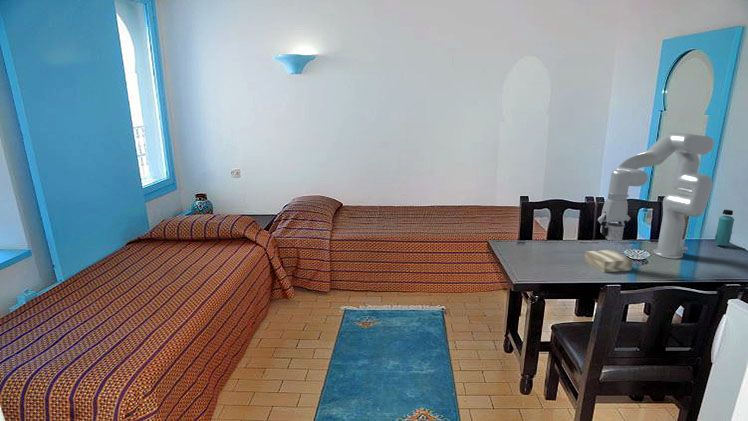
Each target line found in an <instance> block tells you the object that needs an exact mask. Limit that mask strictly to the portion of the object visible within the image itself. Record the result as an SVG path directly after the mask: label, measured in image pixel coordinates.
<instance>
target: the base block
mask: <svg viewBox="0 0 748 421" xmlns="http://www.w3.org/2000/svg"><path fill="white" fill-rule="evenodd" d="M584 255H585V256H584V262H585V263H587V264H589V265H590V266H591V267H594V268H596V269H597V270H599V271H601V272H603V273H612V272H613V273H615V272H626V271H632V267H633V259H631V258H629V257H628V256H625V255H624V254H621V253H619V252H617V251H615V250H614V249H603V250H600V249H599V250H587V251H586V250H585V254H584Z"/></svg>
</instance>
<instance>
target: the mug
mask: <svg viewBox="0 0 748 421" xmlns="http://www.w3.org/2000/svg"><path fill="white" fill-rule="evenodd" d="M602 227H603V226H601V225H600V233H601V234H602ZM608 228H609V229H608V235H607V236H605V239H606V240H609V241H613V242H621V241H623V236H624V228H625V226H624V225H622V224H619V223H618V222H610V224H609V225H608Z"/></svg>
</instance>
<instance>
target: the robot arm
mask: <svg viewBox="0 0 748 421" xmlns="http://www.w3.org/2000/svg"><path fill="white" fill-rule="evenodd" d="M714 146H715V142H714V139H713V138H712V137H710V136H708V135H699V134H694V133H688V132H687V133H685V132H684V133H683V132H676V131H675V132H674V131H673V132H667V133H665V134H663V135H662V136H661V137H659V139H658V140H656V141H655V142H654V143H653V144H652V145H651V146H650V147H649V148H648V149H647V150H646V151H643V152H639V153H638V154H635V155H632V156H630V157H628V158H626V159H625V160H624V161H622V162H621V163H620V164H619V165H618V166H617V167H616V168H615V169H614V170H612V171H611V173H610V174H611V175H610V181H609V186H608V187H609V188H608V194H607V199H605V201H604V204H603V207H602V210H601V216H599V217H598V218H597V222H599V224H600V227H601V226H603V227H602V233H601V235H603V236H605V237H606V236H607V235H608V229H609V228H608V225H609V224H610V223H619V224H622V225H624V227H625V226H626V224H628V222H629V221H630V220H631V217H630V216H629V215H628V205H629V204H628V200H627V199H628V198H629V197H630V196H629V193H628V192H629V188H630V187H642V186H644V185H645V184H646V183H647V182H648V179H649V175H648V174H647V172H645V171H644V170H642V169H644V168H649V167H654V166H656V167H657V166H658V165H661V164H663V163H664V162H665V161H666V160H667V159H668V158H669V157H670V156H671V155H672V154H674V153H675V154H676V156H677V164H676V168H675V171H674V175H673V178H672V184H671V186H672V187H673V189H674V190H677V191H681V192H685V193H689V194H690V193H691V194H692V195H689V194H684V193H680V192H669V193H668V194H666V195H665V196H664V197H663V200H662V219H661V220H662V221H661V225H660V230H659V231H660V232H659V237H658V242H657V246H656V248H654V249H653V250H652V253H653V254H654V255H655V256H659V257H662V258H666V259H672V260H673V259H675V260H679V259H683V257H684V254H683V253H682V252H688V251H689V248H688V246H683V247H682V242H683V237H684V236H683V235H684V231H685V226H686V219H685V216H687V217H692V218H698V217H701V216H702V215H703V214H704V213H705V211H706V208H707V205H708V202H709V199H710V195H711V192H712V189H713V180H712V178H711V176H710V175H707V174H704V173H699V172H698V171H699V166H700V159H699V156H698V155H700V156H704V155H707V154H709V153H711V152H712V150H713V148H714Z"/></svg>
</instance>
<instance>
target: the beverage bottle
mask: <svg viewBox="0 0 748 421" xmlns="http://www.w3.org/2000/svg"><path fill="white" fill-rule="evenodd" d="M722 214H723V215H721V216H719V219H718V222H717V226H716V231H715V236H714V244H716V245H719V246H723V247H724V246H725V247H726V246H729V245H730V243H731V237H732V233H733V226H734V222H735V218H734V217H733V215H734V210H733V209H732V210H731V209H723V210H722Z"/></svg>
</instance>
